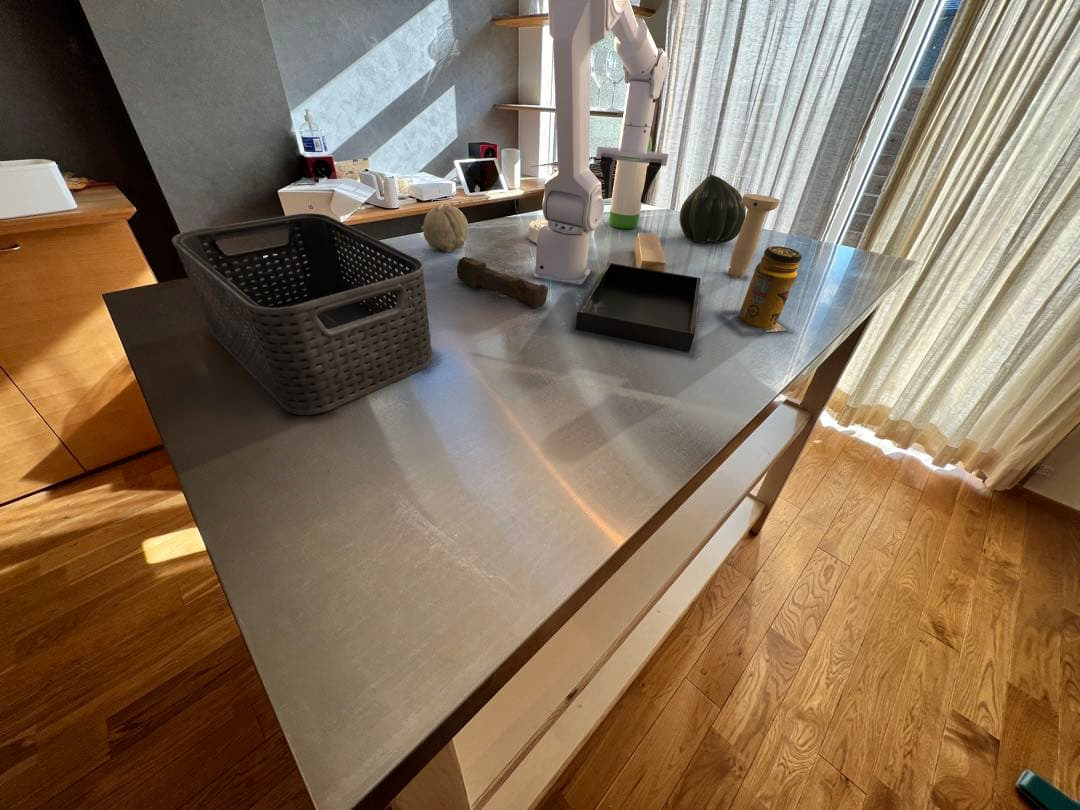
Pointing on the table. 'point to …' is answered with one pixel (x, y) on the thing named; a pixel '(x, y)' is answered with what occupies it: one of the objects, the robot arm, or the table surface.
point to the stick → (649, 252)
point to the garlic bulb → (445, 228)
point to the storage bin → (312, 309)
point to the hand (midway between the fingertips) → (624, 199)
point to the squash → (712, 212)
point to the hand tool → (501, 282)
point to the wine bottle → (628, 192)
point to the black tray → (642, 307)
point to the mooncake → (536, 229)
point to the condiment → (770, 288)
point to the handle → (750, 232)
